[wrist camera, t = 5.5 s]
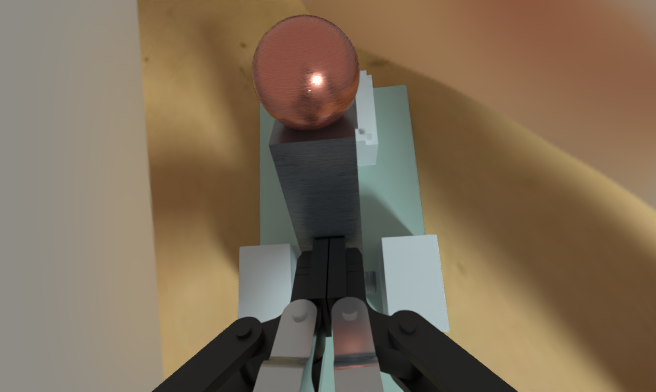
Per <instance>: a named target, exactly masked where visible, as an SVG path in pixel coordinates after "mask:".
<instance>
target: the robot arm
mask: <svg viewBox="0 0 656 392" xmlns="http://www.w3.org/2000/svg"><path fill="white" fill-rule="evenodd" d="M332 330H333V347H334V361H333V367H334V385H335V392H384V389H383V384H382V378H381V373H380V372H383V373H386V374H389V375H390V376H391V378H392V379H393V381H394V382H395V383H396V384H397V385H398V386H399V387H400V388H401V389H402V390H403V391H404V392H518V391H516V390H515V389H514V388H513V387H511V386H510V385H509V384H507V383H506V382H505V381H504V380H502V379H501V378H500V377H499V376H497V375H496V374H495V373H493V372H492V371H491V370H490V369H488V368H487V367H486V366H485V365H483V364H482V363H481V362H479V361H478V360H477V359H476V358H474V357H473V356H472V355H471V354H469V353H468V352H467V351H466V350H464V349H463V348H462V347H460V346H459V345H458V344H457V343H455V342H454V341H453V340H452V339H450V338H449V337H448V336H446V335H445V334H444V333H443V332H441V331H440V330H439V329H438V328H436V327H435V326H434V325H432V324H431V323H430V322H429V321H427V320H426V319H425V318H424V317H422V316H421V315H420V314H418V313H416V312H414V311H411V310H400V311H397V312H395V313H394V314H392V315H391V316H390V315H386V314H382V313H379V312H377V311H375V310H374V309H372V308H371V307H370V305H369V304H368V302H367V299H366V290H365V279H364V268H363V256H362V254H361V252H360V251H359V249H358V248H347V247H346V238H345V237H343V238H330V240H329V239H314V240H313V248H312V251H303V252H302V254H301V255H300V256H299V258H298V259H297V265H296V271H295V277H294V283H293V288H292V294H291V300H290V304H288V305H287V306H286V307H285V309H284V310H283V313H282V314H281V315H280V316H278V317H276V318H274V319H271V320H268V321H265V322H262V323H261V322H260V321H259V320H258V319H257V318H255V317H243V318H240V319H238V320H236V321H235V322H233V323H232V324H231V325H230V326H229V327H227V328H226V329H225V330H224V331H223V332H222V333H220V334H219V335H218V336H217V337H216V338H214V339H213V340H212V341H211V342H210V343H209V344H207V345H206V346H205V347H204V348H203V349H201V350H200V351H199V352H198V353H197V354H196V355H194V356H193V357H192V358H191V359H190V360H189V361H187V362H186V363H185V364H184V365H183V366H181V367H180V368H179V369H178V370H177V371H176V372H174V373H173V374H172V375H171V376H170V377H168V378H167V379H166V380H165V381H164V382H163V383H161V384H160V385H159V386H158V387H157V388H156V389H154V390H153V391H152V392H321V388H322V379H323V371H324V363H325V345H326V337H332Z"/></svg>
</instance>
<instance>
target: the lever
mask: <svg viewBox="0 0 656 392" xmlns="http://www.w3.org/2000/svg"><path fill="white" fill-rule="evenodd" d="M252 79H253V85H254V89H255V91H256V94H257V97H258V99H259V101H260V103H261V104H262V106H263V107H264V108H265V110H266V111H267V112H268V113H269V114H270V115H271V116H272V117H273V118H274V119H275V121H274V125H273V129H272V133H271V137H270V141H269V148H270V152H271V155H272V158H273V162H274V165H275V168H276V172H277V175H278V178H279V182H280V185H281V188H282V192H283V195H284V198H285V202H286V205H287V208H288V212H289V215H290V218H291V222H292V225H293V228H294V232H295V235H296V238H297V242H298V245H299V248H300V252H301V254H302V252H303V251H312V248H313V240H314V239H329V240H330V238H343V237H345V238H346V247H347V248H358V249H359V251H360V252H361V254H362V256H363V241H362V226H361V211H360V195H359V180H358V165H357V149H356V135H355V124H354V113H353V101H354V99H355V97H356V94H357V90H358V87H359V81H360V68H359V62H358V58H357V54H356V52H355V49H354V47H353V45H352V43H351V41H350V40H349V39H348V37H347V36H346V35H345V33H344V32H343V31H342V30H341V29H340V28H338V27H337V26H336V25H334V24H333V23H331V22H329V21H328V20H326V19H323V18H320V17H317V16H312V15H297V16H292V17H289V18H286V19H284V20H282V21H280V22H278V23H277V24H275V25H274V26H272V27H271V28H270V29H269V30H268V31H267V32H266V33H265V35H264V36H263V37H262V39H261V40H260V42H259V44H258V46H257V48H256V51H255V54H254V58H253V63H252ZM363 268H364V257H363ZM364 279H365V290H366V295H369V294H377V283H376V274H375V271H370V272H364Z"/></svg>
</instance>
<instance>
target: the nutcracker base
mask: <svg viewBox="0 0 656 392" xmlns="http://www.w3.org/2000/svg"><path fill="white" fill-rule="evenodd" d="M359 68H360V67H359ZM353 113H354V124H355V135H356V149H357V165H358V180H359V195H360V211H361V226H362V241H363V257H364V272H370V271H375V274H376V283H377V294H369V295H366V299H367V302H368V304H369V305H370V307H371V308H372V309H374V310H375V311H377V312H379V313H382V314H386V315H390V316H391V315H392V314H394V313H395V312H397V311H400V310H411V311H414V312H416V313H418V314H420V315H421V316H422V317H424V318H425V319H426V320H427V321H429V322H430V323H431V324H432V325H434V326H435V327H436V328H438V329H439V330H440V331H441V332H450V330H449V323H448V315H447V308H446V300H445V293H444V286H443V278H442V271H441V263H440V256H439V248H438V241H437V234H434V235H425V230H424V222H423V214H422V206H421V198H420V190H419V182H418V174H417V166H416V158H415V150H414V142H413V134H412V126H411V118H410V110H409V102H408V94H407V86H406V85H397V86H388V87H378V88H373V85H372V75H367V74H366V70H363V71H360V81H359V87H358V90H357V94H356V97H355V99H354V101H353ZM274 121H275V119H274V118H273V117H272V116H271V115H270V114H269V113H268V112H267V111H266V110H265V108H264V107H263V106H262V104H261V103H260V245H258V246H242V247H239V306H238V319H240V318H243V317H255V318H257V319H258V320H259V321H260V322H261V323H262V322H265V321H268V320H271V319H274V318H276V317H278V316H280V315H281V314H282V313H283V310H284V309H285V307H286V306H287V305H288V304H290V300H291V294H292V288H293V283H294V277H295V271H296V265H297V259H298V258H299V256H300V255H301V252H300V248H299V245H298V242H297V238H296V235H295V232H294V228H293V225H292V222H291V218H290V215H289V212H288V208H287V205H286V202H285V198H284V195H283V192H282V188H281V185H280V182H279V178H278V175H277V172H276V168H275V165H274V162H273V158H272V155H271V152H270V148H269V141H270V137H271V133H272V129H273V125H274ZM333 361H334V347H333V330H332V337H326V345H325V363H324V371H323V379H322V388H321V392H335V385H334V367H333ZM380 373H381V378H382V384H383V389H384V392H404V391H403V390H402V389H401V388H400V387H399V386H398V385H397V384H396V383H395V382H394V381H393V379H392V378H391V376H390V375H389V374H386V373H383V372H380Z"/></svg>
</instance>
